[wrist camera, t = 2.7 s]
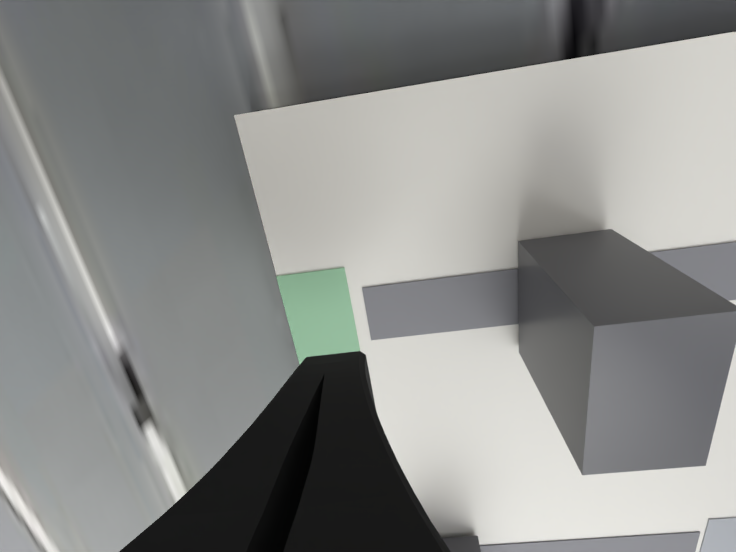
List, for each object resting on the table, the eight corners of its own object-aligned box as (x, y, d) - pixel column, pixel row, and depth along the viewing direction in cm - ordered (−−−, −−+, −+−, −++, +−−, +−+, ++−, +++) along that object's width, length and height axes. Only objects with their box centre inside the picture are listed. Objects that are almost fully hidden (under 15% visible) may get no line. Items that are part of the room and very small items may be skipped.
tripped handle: (611, 228, 11) (744, 310, 7) (601, 343, 12) (705, 466, 8) (518, 240, 11) (594, 326, 7) (518, 352, 13) (582, 475, 9)
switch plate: (880, 6, 10) (961, -6, 9) (706, 591, 20) (731, 630, 18) (251, 112, 12) (233, 115, 10) (374, 608, 21) (374, 645, 20)
